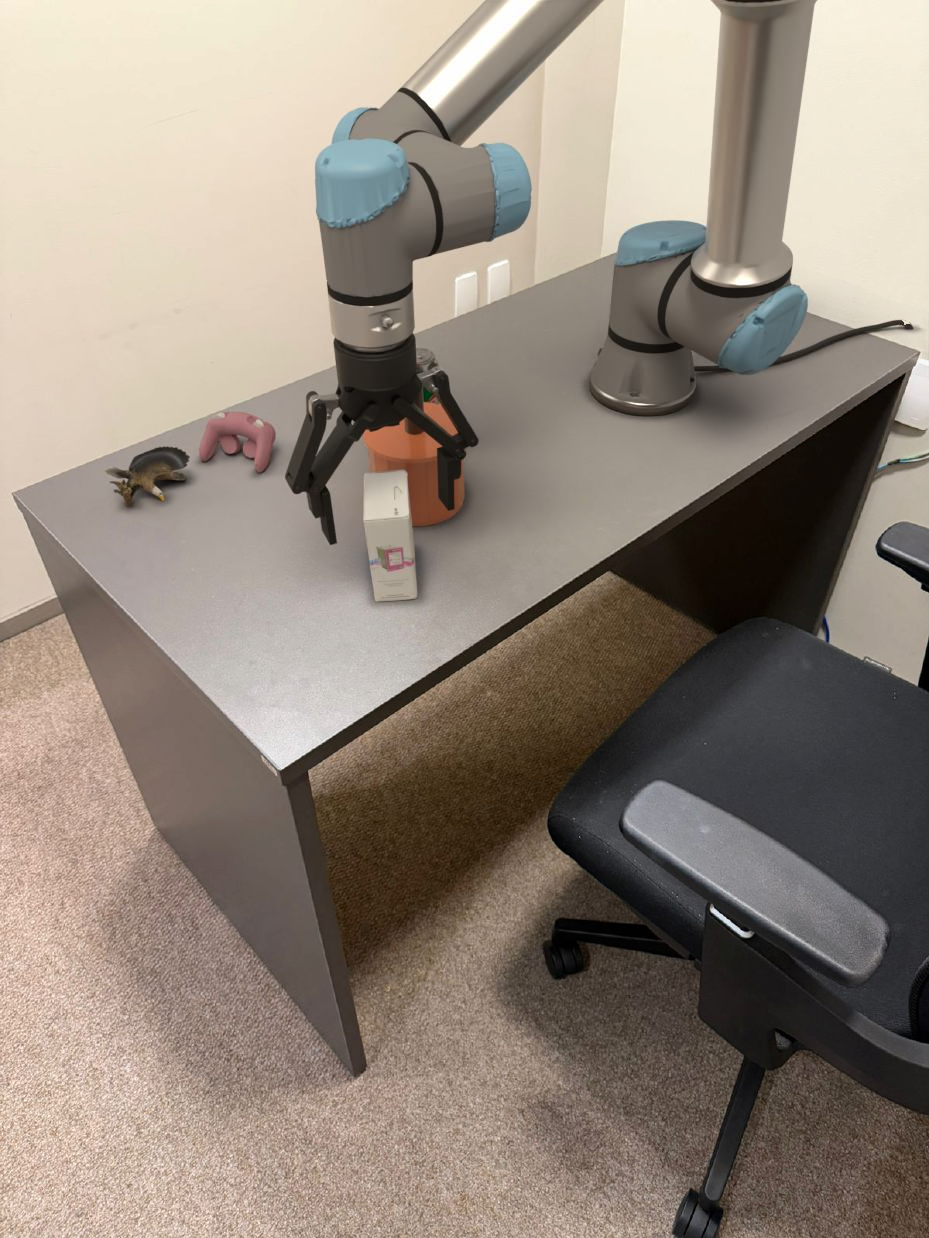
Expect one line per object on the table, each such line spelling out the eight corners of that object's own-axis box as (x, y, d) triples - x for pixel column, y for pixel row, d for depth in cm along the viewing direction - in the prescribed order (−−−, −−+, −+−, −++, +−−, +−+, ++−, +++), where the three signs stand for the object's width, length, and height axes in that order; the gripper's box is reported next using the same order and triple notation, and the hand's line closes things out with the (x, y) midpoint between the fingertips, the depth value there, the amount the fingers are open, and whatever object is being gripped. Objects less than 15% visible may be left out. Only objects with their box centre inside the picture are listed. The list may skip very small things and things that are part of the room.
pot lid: (441, 401, 108) (439, 352, 104) (485, 451, 100) (485, 400, 96) (348, 425, 105) (342, 375, 100) (386, 478, 97) (381, 427, 92)
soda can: (435, 447, 117) (432, 366, 108) (399, 443, 118) (393, 363, 109) (443, 427, 120) (441, 347, 112) (408, 424, 121) (403, 344, 113)
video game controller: (278, 470, 116) (281, 417, 114) (260, 474, 112) (264, 420, 110) (214, 457, 119) (216, 405, 116) (195, 461, 114) (196, 407, 112)
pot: (441, 463, 114) (439, 400, 108) (479, 510, 107) (479, 445, 100) (361, 486, 111) (353, 422, 104) (394, 536, 103) (388, 471, 97)
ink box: (372, 553, 101) (362, 469, 93) (414, 550, 102) (408, 467, 93) (372, 603, 95) (362, 518, 87) (417, 600, 96) (412, 515, 87)
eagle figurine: (151, 516, 105) (203, 470, 109) (109, 470, 102) (164, 424, 106) (132, 520, 111) (182, 477, 115) (92, 477, 108) (145, 434, 112)
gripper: (250, 383, 72) (288, 573, 87) (514, 324, 80) (507, 508, 94) (228, 345, 77) (267, 531, 92) (479, 293, 84) (477, 473, 99)
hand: (389, 520), depth 93 cm, fingers open, 13 cm apart
